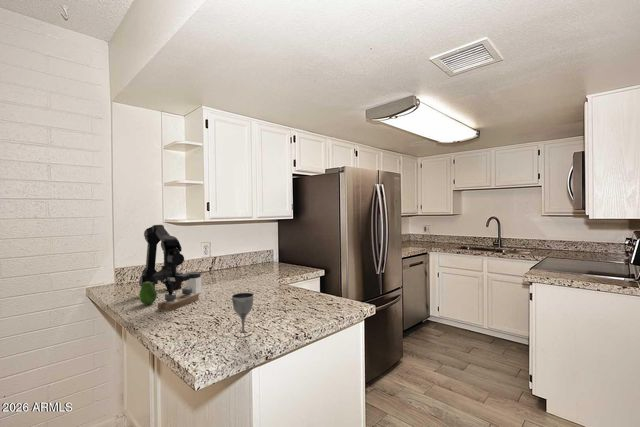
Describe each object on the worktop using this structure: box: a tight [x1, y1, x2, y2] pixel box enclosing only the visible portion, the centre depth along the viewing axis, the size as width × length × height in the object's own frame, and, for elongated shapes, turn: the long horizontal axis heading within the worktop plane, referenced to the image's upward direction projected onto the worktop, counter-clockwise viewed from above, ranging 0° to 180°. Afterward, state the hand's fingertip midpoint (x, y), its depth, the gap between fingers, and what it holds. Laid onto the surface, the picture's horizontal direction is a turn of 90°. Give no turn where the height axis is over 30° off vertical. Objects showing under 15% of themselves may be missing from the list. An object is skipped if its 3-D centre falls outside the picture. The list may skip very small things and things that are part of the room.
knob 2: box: [181, 287, 192, 295], centre depth 165 cm, size 5×5×3 cm
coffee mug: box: [174, 271, 184, 291], centre depth 194 cm, size 12×9×10 cm
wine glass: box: [231, 292, 254, 333], centre depth 118 cm, size 8×8×15 cm
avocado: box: [139, 281, 158, 306], centre depth 159 cm, size 8×8×12 cm
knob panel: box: [157, 293, 199, 312], centre depth 159 cm, size 8×20×3 cm, turn 164°
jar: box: [184, 271, 202, 295], centre depth 181 cm, size 9×8×12 cm
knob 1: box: [164, 292, 177, 301], centre depth 153 cm, size 5×5×3 cm
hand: (170, 294), depth 153 cm, fingers closed, pressing on knob 1
